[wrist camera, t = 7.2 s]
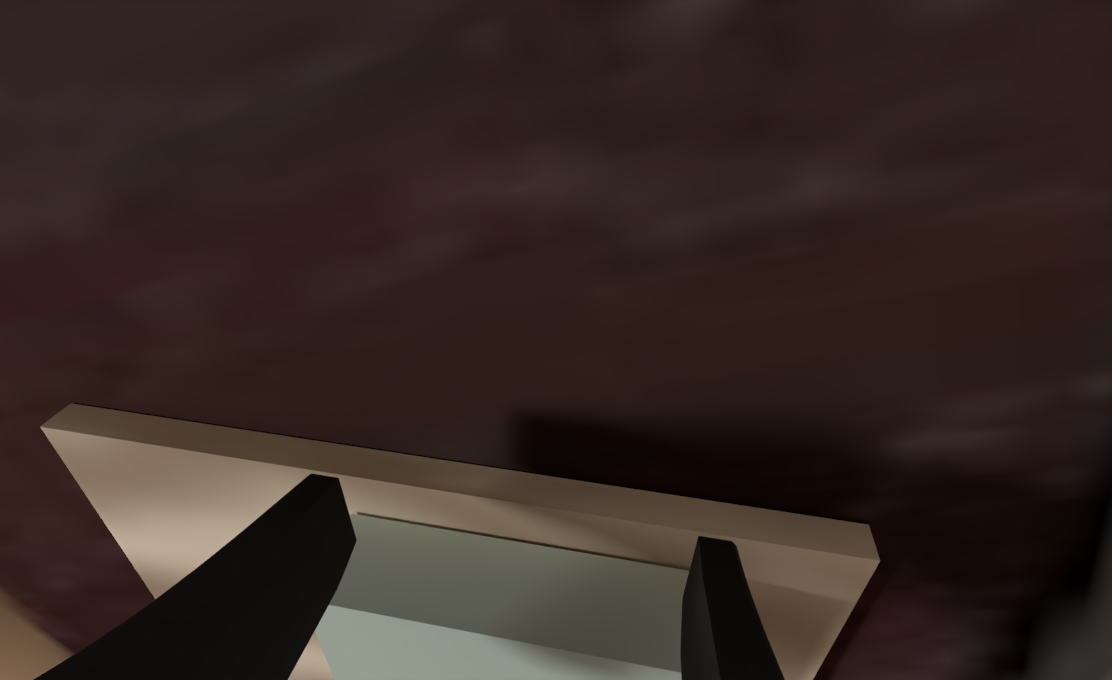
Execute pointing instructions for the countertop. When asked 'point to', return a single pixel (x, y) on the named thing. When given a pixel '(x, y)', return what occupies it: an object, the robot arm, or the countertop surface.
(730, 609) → the robot arm
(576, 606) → the block
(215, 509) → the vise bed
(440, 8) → the countertop surface
